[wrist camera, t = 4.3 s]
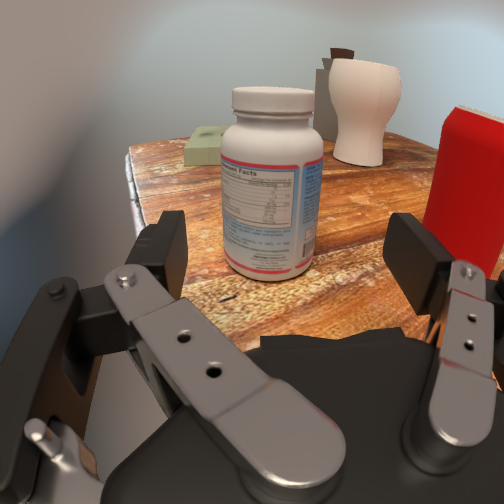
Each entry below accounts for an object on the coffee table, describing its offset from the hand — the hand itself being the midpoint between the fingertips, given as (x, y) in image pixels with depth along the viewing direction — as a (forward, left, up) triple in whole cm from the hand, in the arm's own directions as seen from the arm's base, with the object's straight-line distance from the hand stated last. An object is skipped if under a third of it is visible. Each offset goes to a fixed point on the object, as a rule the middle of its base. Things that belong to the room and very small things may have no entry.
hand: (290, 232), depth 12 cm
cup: (+16, +35, -7) cm, 39 cm away
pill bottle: (0, +8, -7) cm, 10 cm away
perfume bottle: (+17, +50, -7) cm, 53 cm away
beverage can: (+13, +5, -7) cm, 16 cm away
